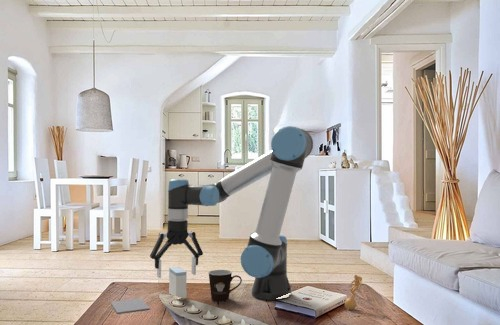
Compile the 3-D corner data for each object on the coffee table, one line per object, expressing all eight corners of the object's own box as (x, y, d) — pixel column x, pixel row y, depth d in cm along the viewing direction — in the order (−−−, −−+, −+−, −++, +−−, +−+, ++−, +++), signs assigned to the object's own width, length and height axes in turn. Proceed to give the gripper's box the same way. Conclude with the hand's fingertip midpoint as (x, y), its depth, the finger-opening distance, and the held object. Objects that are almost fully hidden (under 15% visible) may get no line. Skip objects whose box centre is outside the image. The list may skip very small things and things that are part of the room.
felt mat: (141, 299, 173) (141, 298, 173) (149, 309, 161) (149, 308, 161) (110, 303, 168) (110, 302, 168) (117, 313, 156) (117, 312, 156)
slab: (179, 292, 182) (179, 267, 182) (186, 298, 174) (186, 271, 174) (169, 293, 180) (169, 268, 180) (175, 299, 172) (176, 272, 172)
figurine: (341, 306, 165) (341, 272, 165) (357, 305, 166) (357, 271, 166) (348, 313, 157) (348, 277, 157) (366, 313, 157) (366, 277, 157)
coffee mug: (204, 301, 171) (204, 273, 171) (214, 295, 179) (214, 268, 179) (233, 304, 166) (233, 276, 166) (242, 298, 174) (242, 271, 174)
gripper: (205, 217, 186) (204, 270, 186) (142, 219, 175) (141, 276, 175) (211, 219, 179) (210, 274, 179) (147, 222, 168) (146, 280, 168)
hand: (176, 275), depth 177 cm, fingers open, 13 cm apart
